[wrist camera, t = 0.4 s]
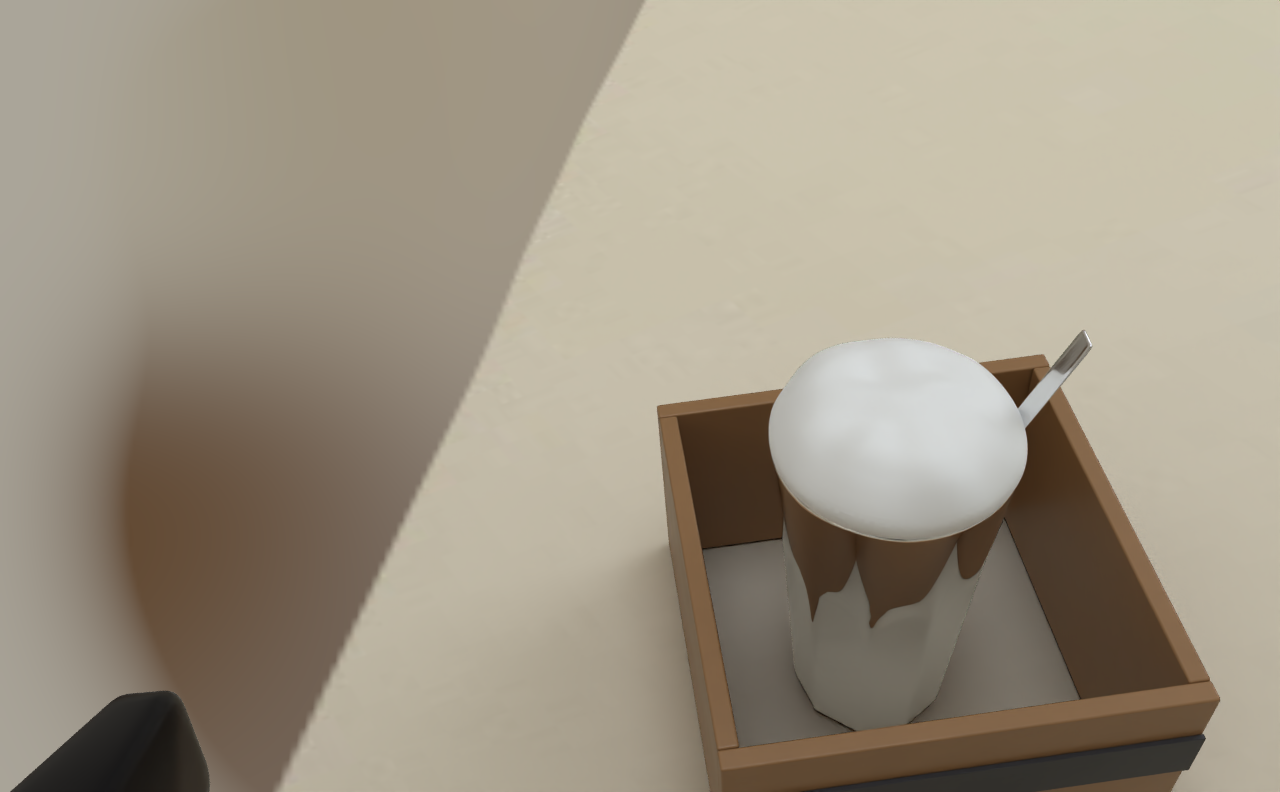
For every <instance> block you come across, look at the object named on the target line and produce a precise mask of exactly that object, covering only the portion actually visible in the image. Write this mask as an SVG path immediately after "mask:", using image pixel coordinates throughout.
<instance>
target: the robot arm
mask: <svg viewBox="0 0 1280 792" xmlns="http://www.w3.org/2000/svg"><path fill="white" fill-rule="evenodd" d="M209 791H210V781H209V772H208V767H207V763H206V760H205V758H204V755H203V753H202V750H201V747H200V745H199V742H198V740H197V737H196V734H195V732H194V729H193V727H192V724H191V721H190V719H189V716H188V714H187V711H186V708H185V706H184V704H183V702H182V700H181V699H180V698H179V696H178V695H177V694H175V693H174V692H170V691H156V692H145V693H133V694H126V695H122V696H119V697H117V698H116V699H114V700H113V701H111V702H110V703H109V704H108V705H107V706H106V707H104V708H103V709H102V710H101V711H100V712H99V713H98V714H97V715H96V716H94V717H93V718H92V719H91V720H90V721H89V722H88V723H87V724H85V725H84V726H83V727H82V728H81V729H80V730H79V731H78V732H76V733H75V734H74V735H73V736H72V737H71V738H70V739H69V740H68V741H66V742H65V743H64V744H63V745H62V746H61V747H60V748H59V749H57V750H56V751H55V752H54V753H53V754H52V755H51V756H50V757H49V758H47V759H46V760H45V761H44V762H43V763H42V764H41V765H40V766H38V767H37V769H35V770H34V771H33V772H32V773H31V774H30V775H28V776H27V777H26V778H25V779H24V780H23V781H22V782H21V783H20V784H18V785H17V786H16V787H15V788H14V789H13V790H12V791H11V792H209Z"/></svg>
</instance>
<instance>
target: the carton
mask: <svg viewBox="0 0 1280 792" xmlns="http://www.w3.org/2000/svg"><path fill="white" fill-rule="evenodd" d="M979 364H981V365H982V366H983V367H984V368H986V369H987V370H988V371H989V372H990V373H991V374H992V375H993V376H994V377H995V378H996V379H997V380H998V381H999V382H1000V383H1001V385H1002V386H1003V387H1004V388H1005V390H1006V391H1007V392H1008V394H1009V395H1010V397H1011V398H1012V400H1013V401H1014V403H1015V405H1016V407H1017V408H1019V407H1020V405H1021V404H1022V403H1023V402H1024V400H1025V399H1026V398H1027V397H1028V396H1029V394H1030V393H1031V392H1032V391H1033V389H1034V388H1035V387H1036V386H1037V384H1038V383H1039V382H1040V381H1041V380H1042V378H1043V377H1044V376H1045V375H1046V373H1047V372H1048V371H1049V370H1050V367H1049V364H1048V362H1047V360H1046V358H1045V356H1044V355H1043V354H1041V355H1034V356H1026V357H1019V358H1011V359H1004V360H996V361H989V362H981V363H979ZM782 390H783V389H779V390H771V391H764V392H756V393H749V394H741V395H734V396H726V397H719V398H711V399H704V400H696V401H689V402H681V403H674V404H666V405H659V406H658V407H657V413H658V424H659V436H660V447H661V458H662V470H663V481H664V492H665V503H666V515H667V526H668V537H669V545H670V551H671V557H672V563H673V569H674V575H675V581H676V587H677V593H678V599H679V605H680V612H681V618H682V624H683V630H684V636H685V642H686V648H687V654H688V660H689V666H690V672H691V678H692V684H693V690H694V696H695V702H696V708H697V714H698V720H699V726H700V732H701V738H702V744H703V750H704V756H705V762H706V768H707V774H708V780H709V786H710V792H1171V790H1172V788H1173V786H1174V785H1175V783H1176V781H1177V779H1178V777H1179V775H1180V774H1181V772H1182V771H1184V770H1189V768H1190V766H1191V765H1192V763H1193V761H1194V759H1195V757H1196V756H1197V754H1198V752H1199V750H1200V748H1201V746H1202V745H1203V743H1204V741H1205V739H1206V738H1205V736H1204V734H1202V733H1203V731H1204V729H1205V728H1206V726H1207V724H1208V722H1209V720H1210V718H1211V717H1212V715H1213V713H1214V711H1215V709H1216V707H1217V706H1218V704H1219V702H1220V697H1219V695H1218V693H1217V691H1216V689H1215V687H1214V685H1213V684H1212V682H1211V681H1210V678H1209V676H1208V674H1207V672H1206V670H1205V668H1204V666H1203V664H1202V662H1201V660H1200V658H1199V656H1198V654H1197V652H1196V650H1195V648H1194V646H1193V645H1192V643H1191V641H1190V639H1189V637H1188V635H1187V633H1186V631H1185V629H1184V627H1183V625H1182V623H1181V621H1180V619H1179V617H1178V615H1177V613H1176V611H1175V609H1174V607H1173V605H1172V604H1171V602H1170V600H1169V598H1168V596H1167V594H1166V592H1165V590H1164V588H1163V586H1162V584H1161V582H1160V580H1159V578H1158V576H1157V574H1156V572H1155V570H1154V568H1153V566H1152V565H1151V563H1150V561H1149V559H1148V557H1147V555H1146V553H1145V551H1144V549H1143V547H1142V545H1141V543H1140V541H1139V539H1138V537H1137V535H1136V533H1135V531H1134V529H1133V527H1132V526H1131V524H1130V522H1129V520H1128V518H1127V516H1126V514H1125V512H1124V510H1123V508H1122V506H1121V504H1120V502H1119V500H1118V498H1117V496H1116V494H1115V492H1114V490H1113V488H1112V486H1111V485H1110V483H1109V481H1108V479H1107V477H1106V475H1105V473H1104V471H1103V469H1102V467H1101V465H1100V463H1099V461H1098V459H1097V457H1096V455H1095V453H1094V451H1093V449H1092V447H1091V446H1090V444H1089V442H1088V440H1087V438H1086V436H1085V434H1084V432H1083V430H1082V428H1081V426H1080V424H1079V422H1078V420H1077V418H1076V416H1075V414H1074V412H1073V410H1072V408H1071V406H1070V405H1069V403H1068V401H1067V399H1066V397H1065V395H1064V393H1063V391H1062V389H1061V387H1060V388H1059V389H1058V390H1057V391H1056V392H1055V394H1054V395H1053V396H1052V397H1051V398H1050V400H1049V401H1048V402H1047V403H1046V404H1045V406H1044V407H1043V408H1042V409H1041V410H1040V412H1039V413H1038V414H1037V415H1036V416H1035V418H1034V419H1033V420H1032V421H1031V422H1030V424H1029V425H1028V426H1027V427H1026V428H1025V431H1026V437H1027V448H1028V450H1027V461H1026V466H1025V470H1024V473H1023V475H1022V478H1021V480H1020V481H1019V483H1018V485H1017V487H1016V490H1015V492H1014V495H1013V497H1012V499H1011V502H1010V504H1009V507H1008V509H1007V511H1006V514H1005V516H1004V517H1005V519H1006V522H1007V524H1008V526H1009V529H1010V531H1011V533H1012V536H1013V538H1014V541H1015V543H1016V545H1017V548H1018V550H1019V553H1020V555H1021V557H1022V560H1023V562H1024V564H1025V567H1026V569H1027V572H1028V574H1029V576H1030V579H1031V581H1032V583H1033V586H1034V588H1035V591H1036V593H1037V595H1038V598H1039V600H1040V602H1041V605H1042V607H1043V610H1044V612H1045V614H1046V617H1047V619H1048V621H1049V624H1050V626H1051V629H1052V631H1053V633H1054V636H1055V638H1056V640H1057V643H1058V645H1059V648H1060V650H1061V652H1062V655H1063V657H1064V659H1065V662H1066V664H1067V667H1068V669H1069V671H1070V674H1071V676H1072V679H1073V681H1074V683H1075V686H1076V688H1077V690H1078V693H1079V695H1080V698H1081V699H1080V700H1073V701H1066V702H1059V703H1052V704H1045V705H1038V706H1031V707H1024V708H1017V709H1010V710H1003V711H996V712H989V713H982V714H975V715H968V716H961V717H954V718H947V719H940V720H932V721H925V722H918V723H911V724H904V725H897V726H890V727H883V728H876V729H869V730H862V731H855V732H848V733H841V734H834V735H827V736H820V737H813V738H806V739H799V740H792V741H785V742H777V743H770V744H763V745H756V746H749V747H742V748H739V742H738V737H737V732H736V727H735V721H734V716H733V711H732V705H731V700H730V695H729V690H728V684H727V679H726V674H725V668H724V663H723V658H722V652H721V647H720V642H719V637H718V631H717V626H716V621H715V615H714V610H713V605H712V600H711V594H710V589H709V584H708V578H707V573H706V568H705V563H704V557H703V552H702V548H710V547H717V546H724V545H731V544H739V543H746V542H753V541H761V540H768V539H775V538H782V532H781V524H780V517H779V510H778V503H777V496H776V489H775V481H774V474H773V467H772V460H771V453H770V445H769V420H770V414H771V410H772V407H773V405H774V403H775V401H776V399H777V397H778V396H779V394H780V393H781V391H782Z"/></svg>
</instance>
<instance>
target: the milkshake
mask: <svg viewBox="0 0 1280 792" xmlns="http://www.w3.org/2000/svg"><path fill="white" fill-rule="evenodd" d="M1091 348H1092V344H1091V341H1090V339H1089V337H1088V335H1087V333H1086V331H1085V330H1082V331H1081V332H1080V333H1079V334H1078V335H1077V337H1076V338H1075V339H1074V340H1073V341H1072V343H1071V344H1070V345H1069V346H1068V348H1067V349H1066V350H1065V351H1064V352H1063V354H1062V355H1061V356H1060V357H1059V359H1058V360H1057V361H1056V362H1055V364H1054V365H1053V366H1052V367H1051V368H1050V370H1049V371H1048V372H1047V373H1046V375H1045V376H1044V377H1043V378H1042V380H1041V381H1040V382H1039V383H1038V384H1037V386H1036V387H1035V388H1034V389H1033V391H1032V392H1031V393H1030V394H1029V396H1028V397H1027V398H1026V399H1025V400H1024V402H1023V403H1022V404H1021V405H1020V407H1019V408H1017V407H1016V405H1015V403H1014V401H1013V400H1012V398H1011V397H1010V395H1009V394H1008V392H1007V391H1006V390H1005V388H1004V387H1003V386H1002V385H1001V383H1000V382H999V381H998V380H997V379H996V378H995V377H994V376H993V375H992V374H991V373H990V372H989V371H988V370H987V369H986V368H984V367H983V366H982V365H981V364H979V363H978V362H976V361H975V360H973V359H971V358H969V357H967V356H965V355H963V354H961V353H958V352H956V351H954V350H951V349H949V348H946V347H943V346H941V345H937V344H934V343H930V342H926V341H920V340H914V339H905V338H880V339H870V340H862V341H853V342H847V343H842V344H838V345H835V346H832V347H829V348H827V349H824V350H822V351H820V352H818V353H816V354H814V355H813V356H812V357H810V358H809V359H808V360H807V361H805V362H804V363H803V364H802V365H801V366H800V367H799V369H798V370H797V371H796V372H795V373H794V375H793V376H792V377H791V379H790V380H789V382H788V383H787V384H786V386H785V387H784V388H783V390H782V391H781V393H780V394H779V396H778V397H777V399H776V401H775V403H774V405H773V407H772V410H771V414H770V420H769V445H770V453H771V460H772V467H773V474H774V481H775V489H776V496H777V503H778V510H779V517H780V524H781V532H782V541H783V552H784V563H785V574H786V585H787V596H788V606H789V617H790V627H791V638H792V648H793V658H794V668H795V673H796V675H797V677H798V678H799V680H800V682H801V684H802V686H803V688H804V689H805V691H806V693H807V695H808V697H809V699H810V700H811V702H812V704H813V706H814V708H815V710H817V711H819V712H820V713H822V714H824V715H826V716H828V717H830V718H832V719H834V720H836V721H838V722H840V723H842V724H844V725H846V726H848V727H850V728H851V729H853V730H855V731H862V730H869V729H876V728H883V727H890V726H897V725H904V724H908V723H909V722H910V721H911V720H913V719H914V718H915V717H916V716H917V715H918V714H919V713H921V712H922V711H923V710H924V709H925V708H926V707H928V706H929V705H930V704H931V703H932V702H933V701H934V700H935V699H936V697H937V694H938V692H939V689H940V686H941V684H942V681H943V678H944V675H945V672H946V670H947V667H948V664H949V661H950V659H951V656H952V653H953V650H954V647H955V645H956V642H957V639H958V636H959V633H960V631H961V628H962V625H963V622H964V620H965V617H966V614H967V611H968V608H969V606H970V603H971V600H972V597H973V594H974V592H975V589H976V586H977V583H978V580H979V578H980V575H981V572H982V570H983V567H984V565H985V562H986V560H987V557H988V555H989V552H990V550H991V547H992V545H993V543H994V540H995V538H996V535H997V533H998V531H999V528H1000V526H1001V523H1002V521H1003V519H1004V516H1005V514H1006V511H1007V509H1008V507H1009V504H1010V502H1011V499H1012V497H1013V495H1014V492H1015V490H1016V487H1017V485H1018V483H1019V481H1020V480H1021V478H1022V475H1023V473H1024V470H1025V466H1026V461H1027V450H1028V448H1027V437H1026V431H1025V428H1026V427H1027V426H1028V425H1029V424H1030V422H1031V421H1032V420H1033V419H1034V418H1035V416H1036V415H1037V414H1038V413H1039V412H1040V410H1041V409H1042V408H1043V407H1044V406H1045V404H1046V403H1047V402H1048V401H1049V400H1050V398H1051V397H1052V396H1053V395H1054V394H1055V392H1056V391H1057V390H1058V389H1059V388H1060V386H1061V385H1062V384H1063V383H1064V382H1065V380H1066V379H1067V378H1068V377H1069V376H1070V374H1071V373H1072V372H1073V371H1074V369H1075V368H1076V367H1077V366H1078V365H1079V363H1080V362H1081V361H1082V360H1083V359H1084V357H1085V356H1086V355H1087V354H1088V352H1089V351H1090V350H1091Z"/></svg>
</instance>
